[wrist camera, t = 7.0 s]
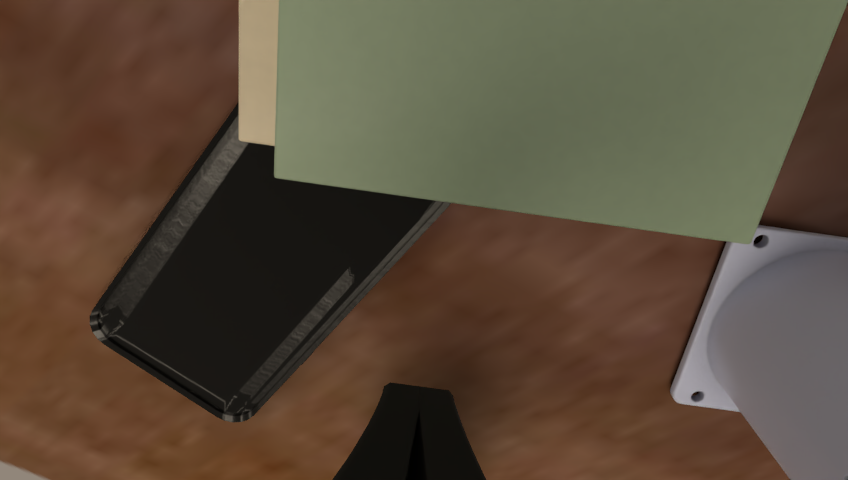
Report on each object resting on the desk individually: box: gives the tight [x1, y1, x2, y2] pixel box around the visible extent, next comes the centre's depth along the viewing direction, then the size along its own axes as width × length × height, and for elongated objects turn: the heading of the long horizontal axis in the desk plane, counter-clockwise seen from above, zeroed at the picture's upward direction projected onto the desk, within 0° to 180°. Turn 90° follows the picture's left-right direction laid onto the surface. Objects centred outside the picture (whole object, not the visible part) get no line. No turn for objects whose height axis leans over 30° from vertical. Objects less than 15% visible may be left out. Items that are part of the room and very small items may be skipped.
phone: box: [90, 102, 451, 422], centre depth 21 cm, size 8×1×15 cm
